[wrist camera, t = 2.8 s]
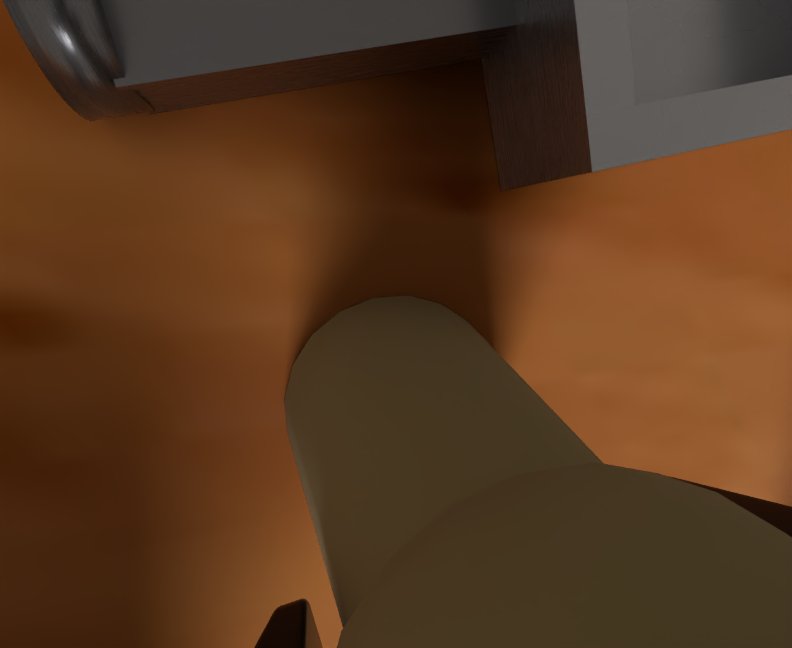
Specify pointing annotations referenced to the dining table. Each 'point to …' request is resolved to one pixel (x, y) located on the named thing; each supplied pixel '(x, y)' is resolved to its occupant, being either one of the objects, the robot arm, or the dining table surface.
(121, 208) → the dining table surface
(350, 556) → the cork
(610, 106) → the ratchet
